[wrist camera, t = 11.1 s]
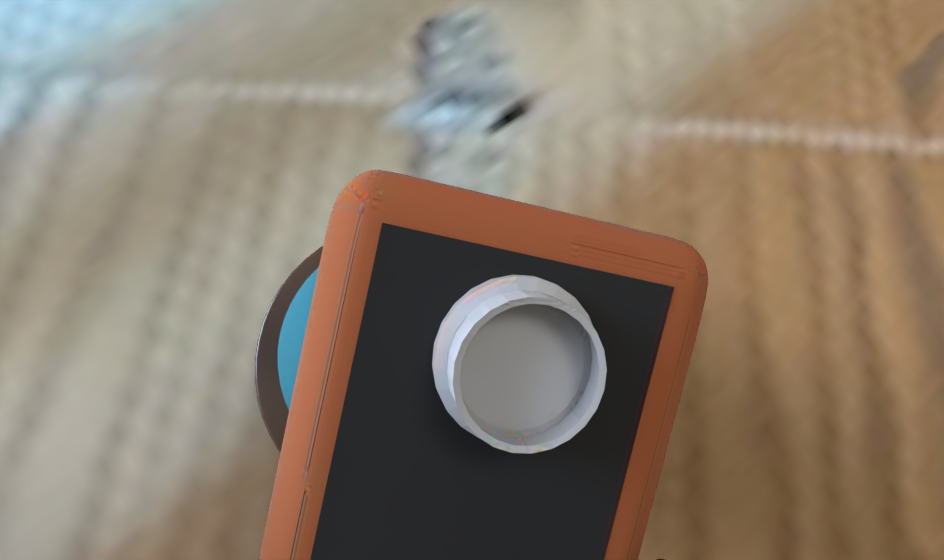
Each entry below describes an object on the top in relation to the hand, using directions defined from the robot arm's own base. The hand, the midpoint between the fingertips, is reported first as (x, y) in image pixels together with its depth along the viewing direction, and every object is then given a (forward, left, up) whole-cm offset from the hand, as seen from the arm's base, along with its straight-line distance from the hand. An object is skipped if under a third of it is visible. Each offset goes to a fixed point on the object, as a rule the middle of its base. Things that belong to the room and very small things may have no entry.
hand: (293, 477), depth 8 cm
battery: (+3, -1, -8) cm, 8 cm away
